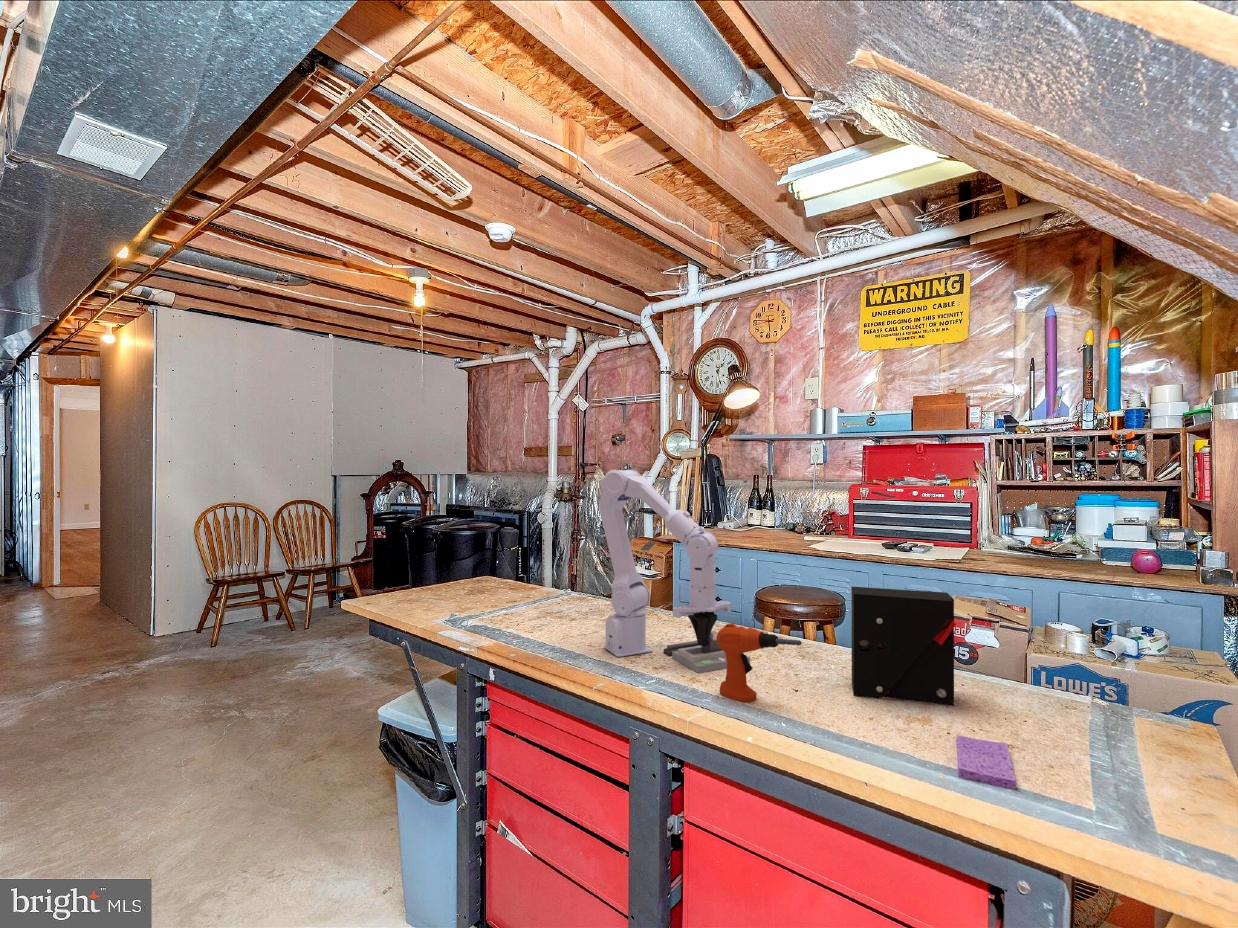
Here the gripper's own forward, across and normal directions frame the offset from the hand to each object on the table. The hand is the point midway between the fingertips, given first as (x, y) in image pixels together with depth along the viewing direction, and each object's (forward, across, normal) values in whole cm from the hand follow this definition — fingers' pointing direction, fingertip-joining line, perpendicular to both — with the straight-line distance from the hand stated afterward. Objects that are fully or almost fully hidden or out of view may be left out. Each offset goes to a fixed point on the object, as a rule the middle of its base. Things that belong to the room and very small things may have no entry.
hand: (702, 644), depth 132 cm
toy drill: (+4, -3, -23) cm, 24 cm away
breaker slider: (+2, +3, 0) cm, 4 cm away
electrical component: (+4, +25, -32) cm, 41 cm away
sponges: (+5, +13, -56) cm, 58 cm away
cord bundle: (+4, +2, +8) cm, 9 cm away
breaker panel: (+4, +2, 0) cm, 4 cm away
